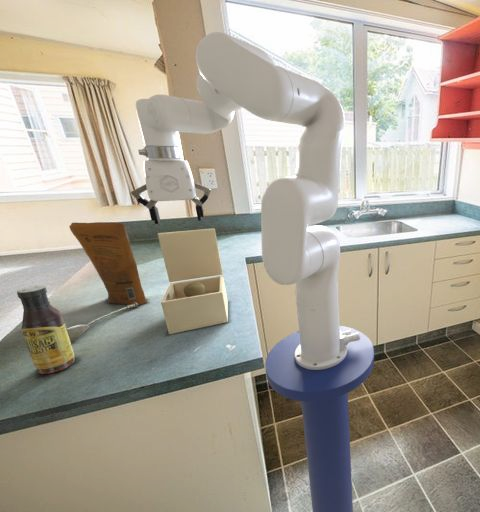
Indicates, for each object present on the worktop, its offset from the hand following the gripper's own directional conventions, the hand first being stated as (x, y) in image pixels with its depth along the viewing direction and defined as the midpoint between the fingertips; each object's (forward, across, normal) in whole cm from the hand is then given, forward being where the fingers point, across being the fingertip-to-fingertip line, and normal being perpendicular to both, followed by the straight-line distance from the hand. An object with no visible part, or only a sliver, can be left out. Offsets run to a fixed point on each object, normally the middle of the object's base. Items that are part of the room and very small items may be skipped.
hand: (179, 221), depth 80 cm
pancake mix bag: (+31, -24, +26) cm, 46 cm away
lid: (+12, 0, +9) cm, 15 cm away
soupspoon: (+31, -26, +10) cm, 41 cm away
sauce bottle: (+31, -28, -10) cm, 42 cm away
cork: (+30, 0, 0) cm, 30 cm away
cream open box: (+30, 0, +2) cm, 30 cm away
